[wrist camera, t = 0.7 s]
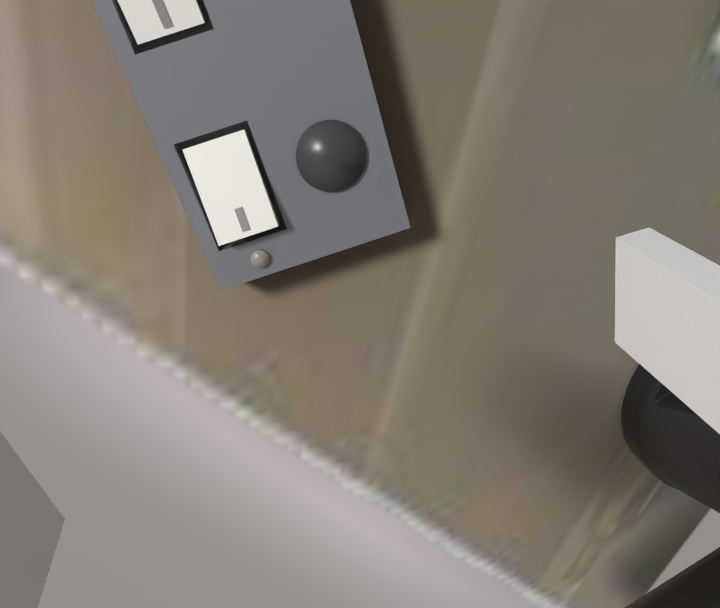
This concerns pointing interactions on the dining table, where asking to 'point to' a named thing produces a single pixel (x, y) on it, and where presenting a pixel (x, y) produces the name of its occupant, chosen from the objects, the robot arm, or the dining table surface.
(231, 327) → the dining table surface
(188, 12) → the rocker
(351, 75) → the rocker switch box
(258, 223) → the rocker
